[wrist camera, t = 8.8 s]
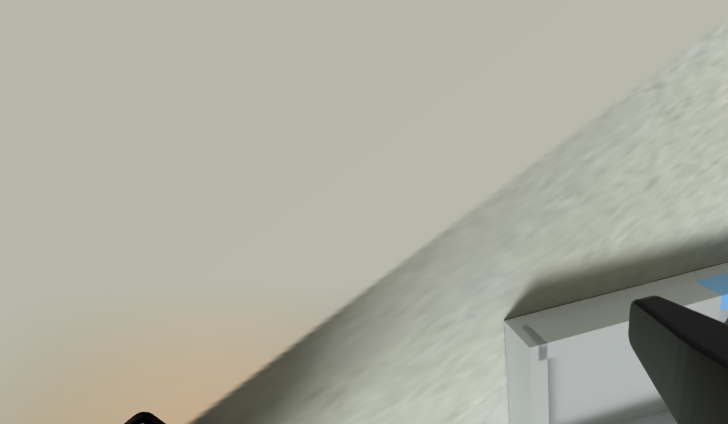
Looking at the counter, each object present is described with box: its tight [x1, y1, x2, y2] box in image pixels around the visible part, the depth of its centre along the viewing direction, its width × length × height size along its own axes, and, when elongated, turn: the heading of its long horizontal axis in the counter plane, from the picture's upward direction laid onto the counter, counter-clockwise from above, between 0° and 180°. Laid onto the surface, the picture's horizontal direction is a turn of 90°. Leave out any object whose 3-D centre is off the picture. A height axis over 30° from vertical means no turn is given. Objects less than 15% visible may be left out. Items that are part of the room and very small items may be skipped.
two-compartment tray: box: [504, 262, 728, 424], centre depth 26 cm, size 18×8×2 cm, turn 98°
